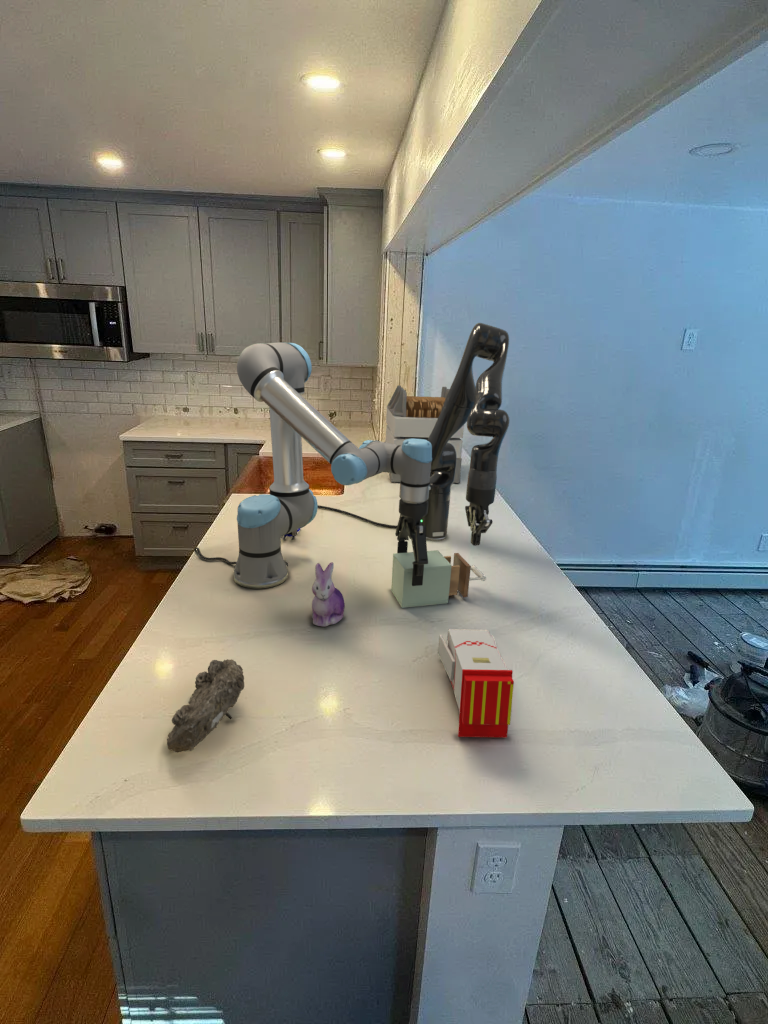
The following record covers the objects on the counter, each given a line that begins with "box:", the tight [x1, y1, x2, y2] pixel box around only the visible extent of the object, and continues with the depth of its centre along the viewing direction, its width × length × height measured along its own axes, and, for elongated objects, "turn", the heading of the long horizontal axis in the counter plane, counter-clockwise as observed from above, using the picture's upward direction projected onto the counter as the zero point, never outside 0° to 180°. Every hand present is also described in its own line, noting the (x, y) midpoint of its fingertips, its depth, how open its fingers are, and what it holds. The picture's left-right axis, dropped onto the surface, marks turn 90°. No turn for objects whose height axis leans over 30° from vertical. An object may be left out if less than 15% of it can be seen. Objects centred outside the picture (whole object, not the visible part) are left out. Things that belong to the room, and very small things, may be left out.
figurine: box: [311, 561, 346, 627], centre depth 141 cm, size 9×10×15 cm
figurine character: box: [282, 528, 302, 541], centre depth 194 cm, size 7×8×15 cm
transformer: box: [384, 384, 465, 484], centre depth 268 cm, size 34×33×41 cm
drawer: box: [443, 552, 487, 598], centre depth 157 cm, size 17×9×9 cm, turn 106°
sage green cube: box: [390, 549, 453, 609], centre depth 155 cm, size 13×10×11 cm
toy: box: [437, 628, 515, 738], centre depth 117 cm, size 12×13×30 cm
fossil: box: [166, 658, 245, 754], centre depth 106 cm, size 22×10×15 cm
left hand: (409, 573), depth 153 cm, fingers open, 13 cm apart
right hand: (475, 544), depth 156 cm, fingers closed
